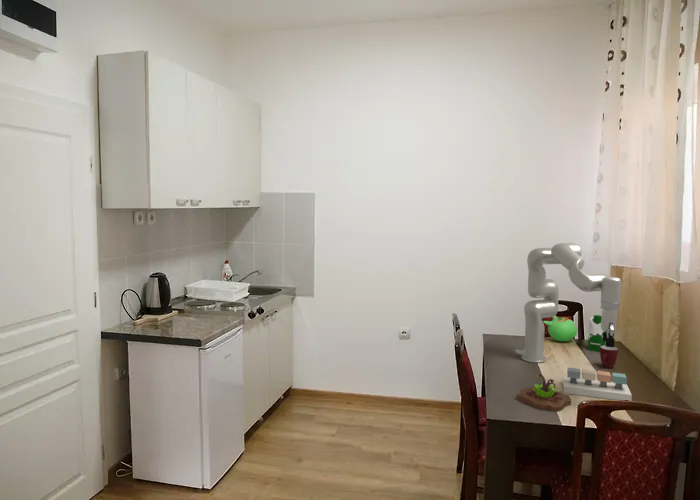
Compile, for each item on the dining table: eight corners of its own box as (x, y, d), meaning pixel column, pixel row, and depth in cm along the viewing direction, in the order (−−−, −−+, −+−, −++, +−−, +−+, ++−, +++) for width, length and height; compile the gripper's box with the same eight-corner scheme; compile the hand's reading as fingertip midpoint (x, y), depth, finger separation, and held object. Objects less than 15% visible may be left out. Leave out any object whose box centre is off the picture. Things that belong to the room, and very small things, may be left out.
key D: (612, 389, 214) (613, 376, 214) (611, 385, 219) (612, 372, 218) (625, 391, 212) (626, 377, 212) (624, 387, 217) (625, 374, 216)
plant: (533, 388, 223) (534, 364, 222) (577, 402, 208) (578, 376, 207) (509, 400, 210) (510, 374, 209) (554, 415, 195) (555, 387, 194)
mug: (613, 372, 245) (614, 352, 244) (595, 368, 250) (596, 349, 249) (618, 366, 253) (619, 347, 252) (601, 363, 258) (602, 344, 257)
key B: (582, 385, 218) (583, 372, 218) (581, 382, 223) (582, 369, 223) (594, 387, 217) (595, 374, 216) (593, 383, 221) (594, 370, 221)
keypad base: (563, 392, 217) (564, 386, 217) (562, 382, 230) (562, 375, 230) (631, 401, 208) (631, 395, 208) (625, 390, 221) (626, 383, 221)
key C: (597, 387, 216) (598, 374, 216) (596, 383, 221) (597, 370, 220) (610, 389, 215) (611, 375, 214) (608, 385, 219) (609, 372, 219)
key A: (567, 383, 221) (568, 370, 220) (566, 380, 225) (567, 367, 225) (579, 385, 219) (580, 372, 218) (578, 381, 223) (579, 368, 223)
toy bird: (570, 346, 288) (572, 321, 286) (541, 340, 299) (542, 316, 297) (580, 340, 302) (581, 316, 300) (551, 335, 312) (552, 312, 311)
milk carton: (586, 350, 280) (588, 315, 278) (588, 346, 288) (590, 312, 286) (604, 353, 276) (606, 317, 274) (605, 349, 283) (607, 314, 281)
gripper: (598, 301, 226) (596, 338, 227) (603, 308, 209) (601, 348, 211) (616, 302, 223) (614, 339, 225) (623, 310, 207) (621, 350, 208)
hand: (608, 344), depth 218 cm, fingers open, 9 cm apart
